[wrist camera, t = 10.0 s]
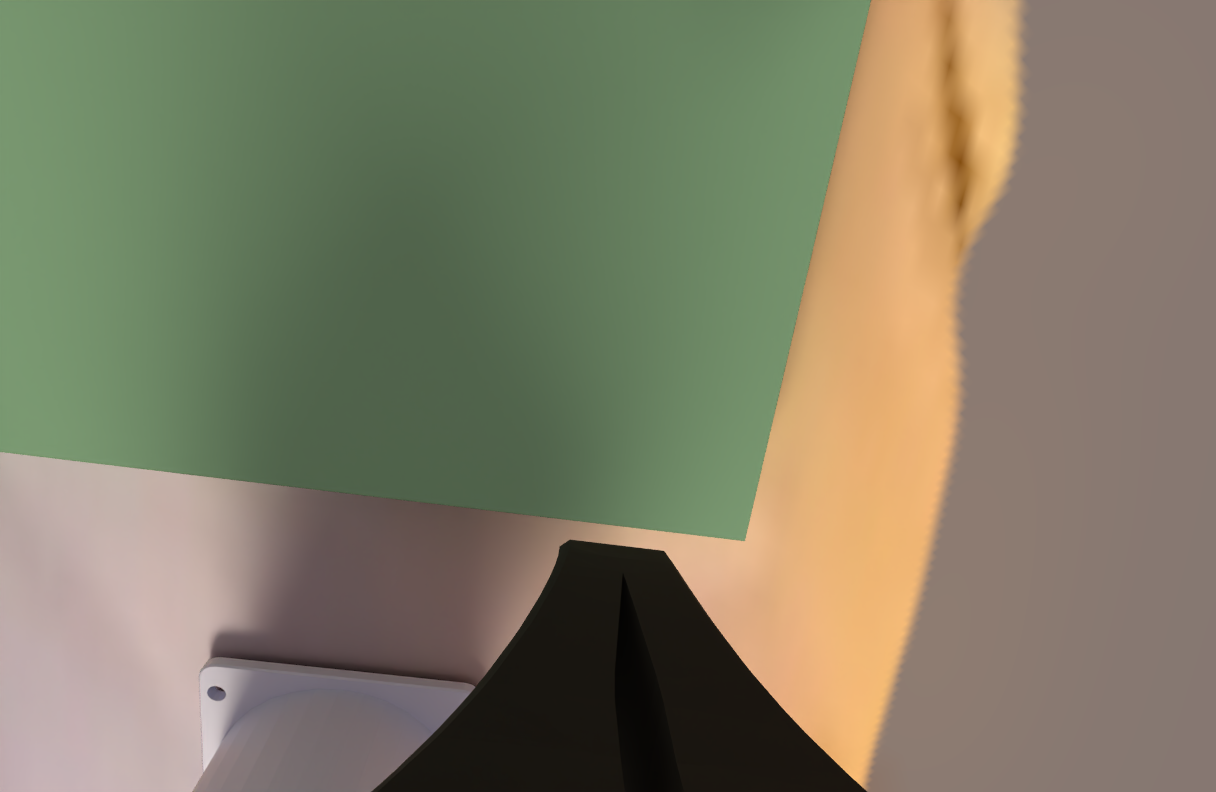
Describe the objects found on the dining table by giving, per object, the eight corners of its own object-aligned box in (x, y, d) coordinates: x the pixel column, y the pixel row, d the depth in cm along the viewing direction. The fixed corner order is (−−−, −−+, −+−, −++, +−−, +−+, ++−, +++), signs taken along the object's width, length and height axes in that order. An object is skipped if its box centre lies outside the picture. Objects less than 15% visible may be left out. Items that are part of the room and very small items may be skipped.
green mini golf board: (727, 493, 21) (761, 588, 17) (-467, 345, 19) (-767, 411, 15) (857, -97, 16) (949, -170, 12) (-708, -373, 14) (-1245, -573, 10)
